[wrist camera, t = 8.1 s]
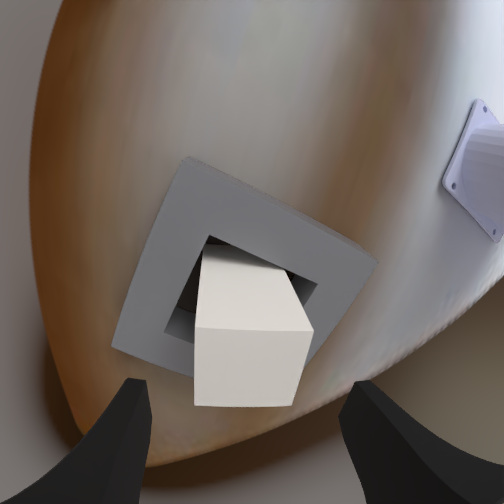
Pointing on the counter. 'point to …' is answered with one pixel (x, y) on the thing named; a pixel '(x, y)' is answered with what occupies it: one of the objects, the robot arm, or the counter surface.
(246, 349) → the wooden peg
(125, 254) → the counter surface
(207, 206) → the socket block
